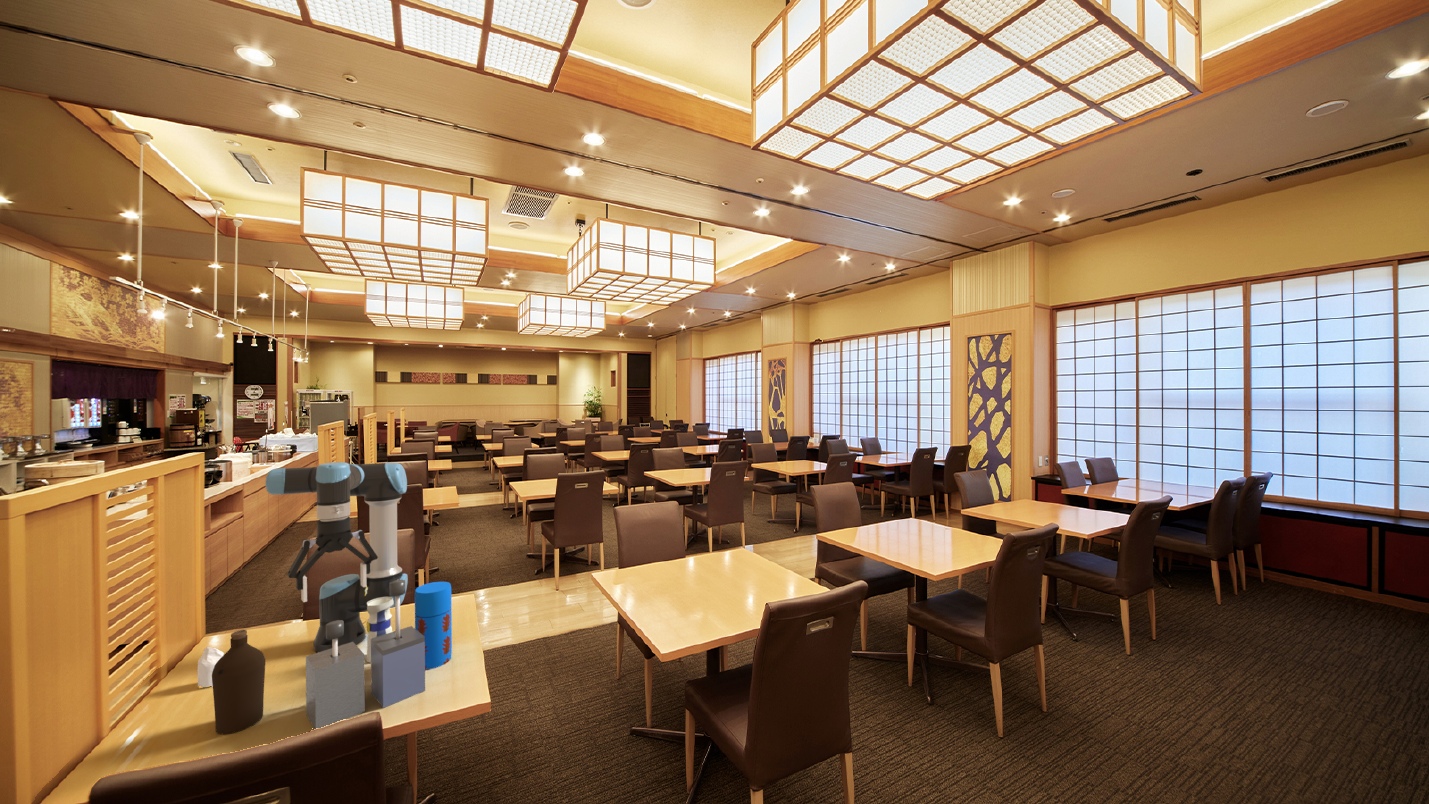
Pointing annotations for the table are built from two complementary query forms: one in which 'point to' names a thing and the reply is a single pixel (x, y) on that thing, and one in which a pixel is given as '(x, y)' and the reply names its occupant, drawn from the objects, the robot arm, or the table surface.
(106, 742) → the table surface
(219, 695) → the olive oil
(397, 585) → the gray knob plunger
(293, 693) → the table surface
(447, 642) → the thermos
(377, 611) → the water bottle
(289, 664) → the table surface
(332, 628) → the steel plunger
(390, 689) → the indigo press
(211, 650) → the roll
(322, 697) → the block
